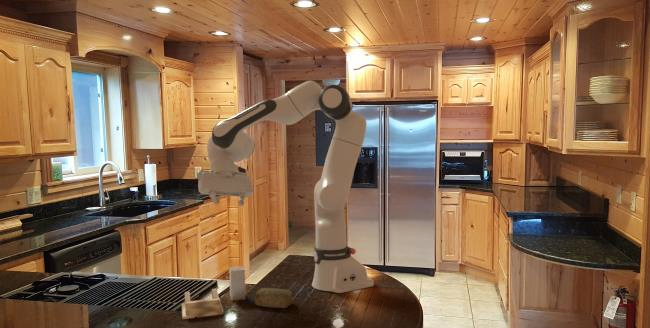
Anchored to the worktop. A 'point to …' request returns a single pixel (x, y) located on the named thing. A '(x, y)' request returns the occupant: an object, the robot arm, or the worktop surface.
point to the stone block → (273, 298)
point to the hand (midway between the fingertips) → (229, 204)
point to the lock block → (237, 283)
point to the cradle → (201, 306)
